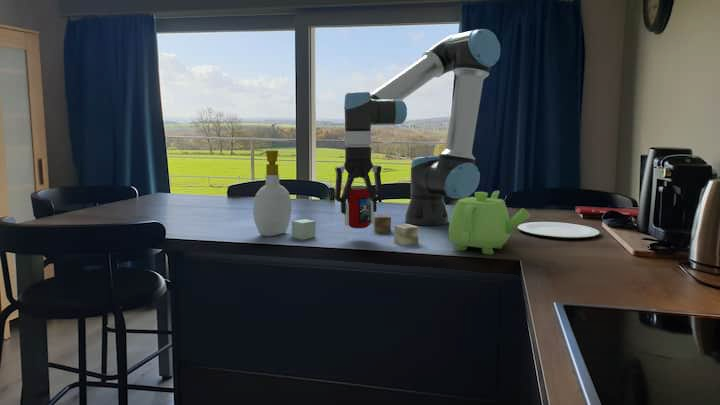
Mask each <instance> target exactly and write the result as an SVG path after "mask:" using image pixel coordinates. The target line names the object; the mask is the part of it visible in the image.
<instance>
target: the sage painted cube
mask: <svg viewBox="0 0 720 405" xmlns="http://www.w3.org/2000/svg"><path fill="white" fill-rule="evenodd" d="M291 237H292V238H295V239H299V240H307V239H306V238H308V239H313V238H316V221H315V220H311V219H306V218H304V219H297V220H292V221H291ZM312 237H313V238H312Z"/></svg>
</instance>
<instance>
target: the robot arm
mask: <svg viewBox="0 0 720 405" xmlns="http://www.w3.org/2000/svg"><path fill="white" fill-rule="evenodd" d="M497 38H498V37H497V36H496V34H495V33H494V32H493V31H491V30H489V29H485V28H480V29H477V28H476V29H473V30H469V31H463V32H459V33H454V34H450V35H449V36H447V37H445V38H443V39H442V40H440V41H439V42H437V43H436V44H435V45H433V46H432V47H430V48H429V49H428V50H426V51H424V53H423V54H422V57H421V58H420V59H418V60H417V61H416V62H414V63H413V64H411V65H410V66H408V67H407V68H406V69H405V70H403V71H401V72H400V73H398V74H397V75H396V76H394V77H393V78H391V79H390V80H389V81H387V82H386V83H384V84H383V85H381V86H380V87H378V88H377V89H376V90H374V91H373V92H371V93H370V92H369V91H348V92H347V93H345V96H344V107H343V110H344V132H345V133H344V143H345V148H344V149H345V150H344V152H345V156H344V158H345V162H344V164H343V165H341V166H336V167H335V168H334V171H335V174H336V178H335V187H334V188H335V190H334V197H333V198H334V200H335V201H337V202H340V212H341V214H343V215H344V218H343V219H344V225H345V226H349V203H348V202H347V197H348V195H349V192H350V189H351V186H353V183H354V181H355V179H358V178H361V179H363V181H364V184H365V186H367V187H368V190H369V192H370V225H372V224H373V225H374V213H375V212H377V202H378V201H379V200H382V199H383V196H384V195H383V189H382V188H383V187H382V179H381V178H382V177H381V172H382V168H383V167H382V166H381V165H375V164H373V163H372V147H371V144H372V126H388V125H389V126H390V125H391V126H395V125H401V124H403V123H404V122H405V121H406V120H407V116H408V108H407V105H406V103H405V101H403V100H404V99H407V98H408V96H410V95H411V94H413V93H414V92H417V90H419V89H420V88H421V87H423V86H424V85H425V84H427V83H428V82H429V81H431V80H432V79H434V78H440V77H441V76H443V75H444V74H447V73H449V72H452V73H453V74H454V75H455V76H456V81H455V84H454V86H455V87H454V92H453V99H452V104H451V110H450V118H449V124H448V128H447V135H446V142H445V148H444V150H443V151H442V152H440V153H439V155H433V156H420V157H415V158H413V159H412V161H411V166H410V201H409V204H408V206H407V209H406V212H405V215H404V216H405V219H404V222H405V223H406V224H410V225H414V226H441V225H442V226H443V225H447V224H448V223H449V214H448V211H447V207H446V204H445V197H447V198H448V197H449V198H452V199H463V198H468V197H471V196H472V194H474V193H475V192H476V190H477V188H478V186H479V184H480V179H481V173H480V171H479V169H478V166H476V165H475V163H476V158H475V157H474V155H473V146H474V140H475V134H476V128H477V127H476V126H477V122H478V116H479V115H478V114H479V109H480V103H481V97H482V89H483V86H484V85H483V83H484V80H485V79H486V78H487V77H489V76H490V73H491V72H490V71H491V67H493V66H494V65H496V63H498V62H499V60H500V57H501V44H500V41H499V40H498V39H497ZM371 170H372V172H373V176H374V184H375V185H374V186H375V191H374V187H373V184H372V181H371V178H370V175H369V174H370V172H371ZM344 171H346V172H347V178H346V181H345V185H344V188H343V191H342V182H343V174H344V173H345V172H344ZM341 192H342V193H341Z"/></svg>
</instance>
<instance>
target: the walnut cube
mask: <svg viewBox="0 0 720 405" xmlns="http://www.w3.org/2000/svg"><path fill="white" fill-rule="evenodd" d="M391 228H392V217H391V215H390V214H373V231H374V233H376V234H377V233H382V234H384V233H386V234H387V233H390V234H391V233H392V231H391V230H392V229H391Z"/></svg>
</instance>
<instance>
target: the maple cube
mask: <svg viewBox="0 0 720 405" xmlns="http://www.w3.org/2000/svg"><path fill="white" fill-rule="evenodd" d="M419 231H420V230H419V226H418V225H415V224H410V223H406V224H405V223H404V224H396V225H394V236H393V237H394V239H393V240H394V241H393V242H394V243H397V244H399V245H402V246H408V245H409V246H410V245H418V244H419V233H420V232H419Z"/></svg>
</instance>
